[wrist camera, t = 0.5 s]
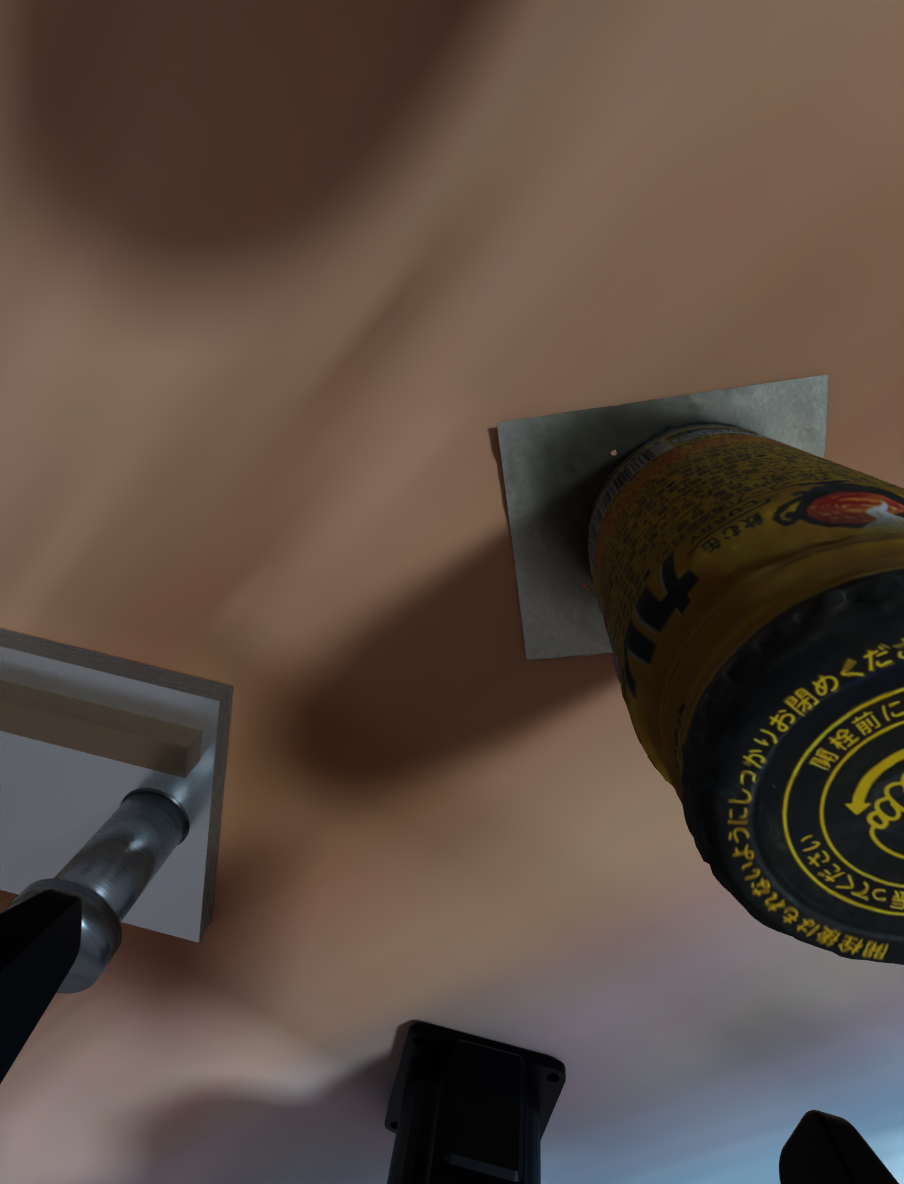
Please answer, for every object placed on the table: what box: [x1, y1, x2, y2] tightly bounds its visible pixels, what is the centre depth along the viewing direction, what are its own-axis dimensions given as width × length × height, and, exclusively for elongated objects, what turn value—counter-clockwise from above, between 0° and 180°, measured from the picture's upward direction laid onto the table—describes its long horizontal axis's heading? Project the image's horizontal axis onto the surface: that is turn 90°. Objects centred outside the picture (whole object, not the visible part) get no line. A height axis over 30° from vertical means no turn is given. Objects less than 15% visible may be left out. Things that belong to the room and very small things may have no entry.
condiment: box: [497, 375, 904, 965], centre depth 13 cm, size 7×8×12 cm
